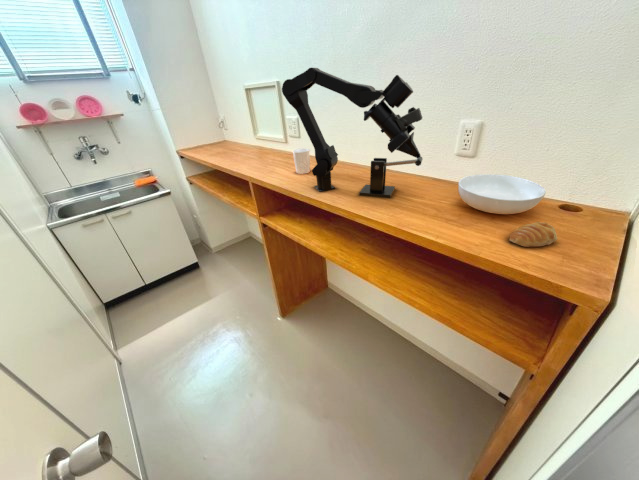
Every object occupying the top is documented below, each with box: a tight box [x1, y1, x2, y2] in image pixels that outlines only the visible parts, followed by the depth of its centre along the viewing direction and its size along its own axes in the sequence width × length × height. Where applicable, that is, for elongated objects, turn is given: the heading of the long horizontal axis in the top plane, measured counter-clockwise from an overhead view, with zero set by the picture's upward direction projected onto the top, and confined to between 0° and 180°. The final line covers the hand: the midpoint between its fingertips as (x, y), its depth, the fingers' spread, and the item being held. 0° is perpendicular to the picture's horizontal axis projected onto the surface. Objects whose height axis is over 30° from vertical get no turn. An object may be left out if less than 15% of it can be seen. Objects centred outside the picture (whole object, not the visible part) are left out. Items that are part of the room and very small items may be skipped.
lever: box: [382, 155, 424, 167], centre depth 84 cm, size 15×5×2 cm, turn 66°
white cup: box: [292, 148, 311, 175], centre depth 119 cm, size 8×8×10 cm
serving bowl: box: [457, 173, 547, 215], centre depth 74 cm, size 21×21×7 cm
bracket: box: [358, 157, 396, 199], centre depth 89 cm, size 11×9×12 cm
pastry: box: [509, 221, 558, 248], centre depth 58 cm, size 9×7×4 cm
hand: (419, 156), depth 81 cm, fingers closed
